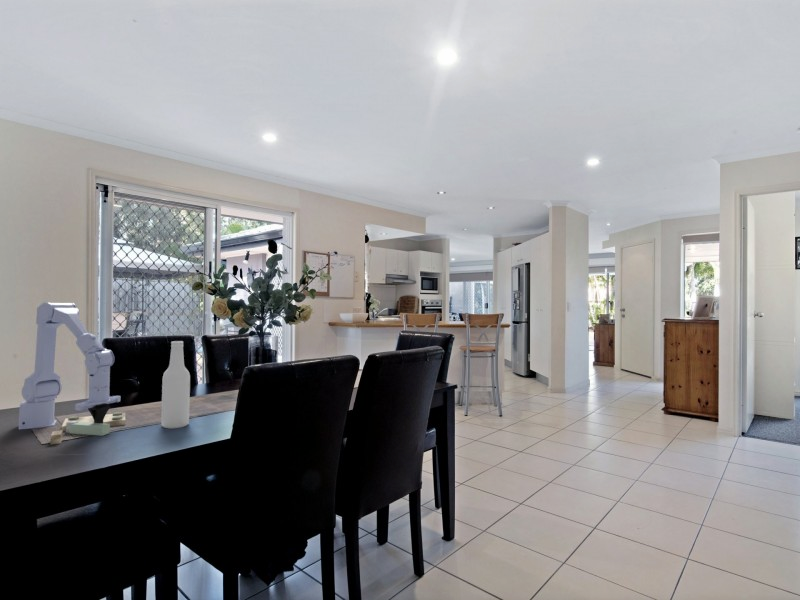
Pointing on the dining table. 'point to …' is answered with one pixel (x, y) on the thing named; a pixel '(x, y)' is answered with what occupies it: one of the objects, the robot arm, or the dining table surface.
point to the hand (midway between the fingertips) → (98, 427)
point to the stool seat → (110, 419)
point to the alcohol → (175, 390)
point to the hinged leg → (87, 428)
